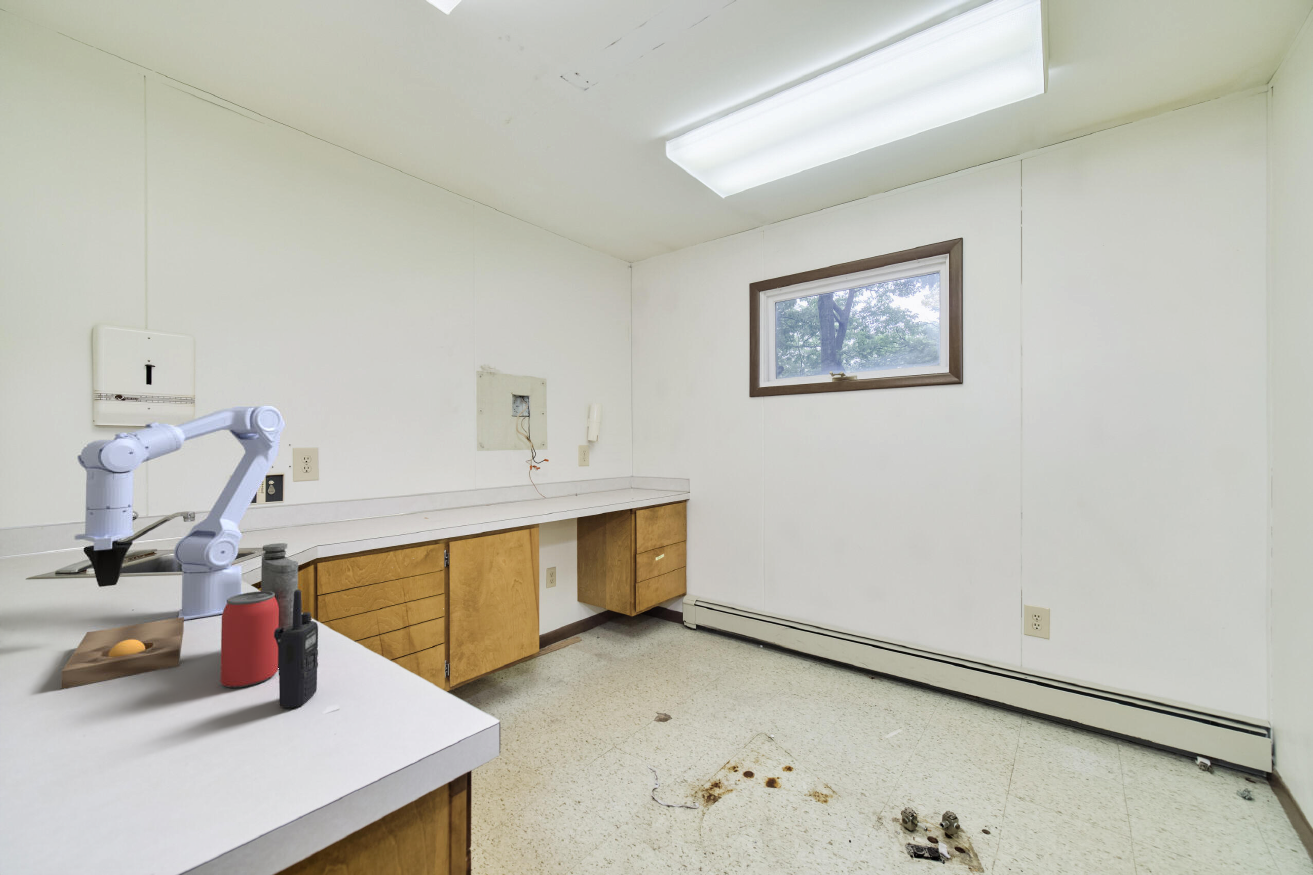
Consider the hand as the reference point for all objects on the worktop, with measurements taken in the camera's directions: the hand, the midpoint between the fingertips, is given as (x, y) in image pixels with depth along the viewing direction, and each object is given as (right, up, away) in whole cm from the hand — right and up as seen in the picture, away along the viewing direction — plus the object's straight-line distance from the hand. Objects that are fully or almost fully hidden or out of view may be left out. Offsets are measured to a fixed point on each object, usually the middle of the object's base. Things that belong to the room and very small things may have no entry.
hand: (108, 585), depth 91 cm
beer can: (+37, -9, -16) cm, 41 cm away
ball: (+15, -7, -11) cm, 20 cm away
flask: (+35, -10, -7) cm, 36 cm away
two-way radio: (+48, -9, -22) cm, 54 cm away
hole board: (+12, -9, -7) cm, 17 cm away
